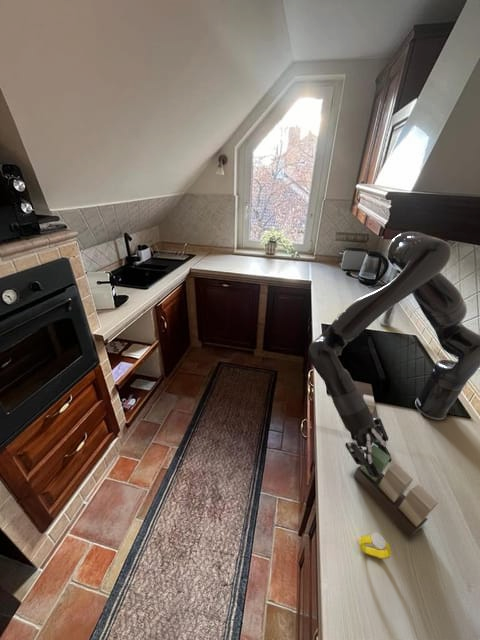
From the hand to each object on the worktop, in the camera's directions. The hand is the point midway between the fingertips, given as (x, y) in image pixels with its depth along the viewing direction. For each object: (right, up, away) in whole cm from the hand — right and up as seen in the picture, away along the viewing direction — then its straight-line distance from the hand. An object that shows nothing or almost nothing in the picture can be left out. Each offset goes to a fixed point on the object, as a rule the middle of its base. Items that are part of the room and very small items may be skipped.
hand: (381, 468), depth 65 cm
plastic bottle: (+46, +36, +80) cm, 99 cm away
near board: (+8, +7, +28) cm, 30 cm away
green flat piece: (-1, -3, +3) cm, 4 cm away
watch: (-7, -14, -8) cm, 18 cm away
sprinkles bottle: (+9, +22, +55) cm, 60 cm away
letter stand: (+1, -9, +1) cm, 9 cm away
